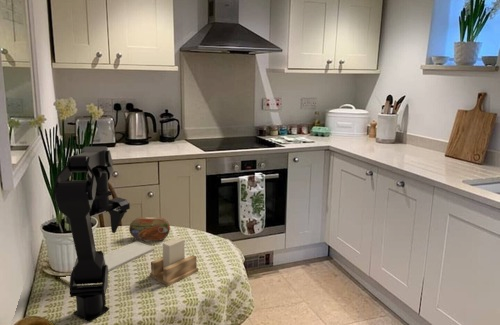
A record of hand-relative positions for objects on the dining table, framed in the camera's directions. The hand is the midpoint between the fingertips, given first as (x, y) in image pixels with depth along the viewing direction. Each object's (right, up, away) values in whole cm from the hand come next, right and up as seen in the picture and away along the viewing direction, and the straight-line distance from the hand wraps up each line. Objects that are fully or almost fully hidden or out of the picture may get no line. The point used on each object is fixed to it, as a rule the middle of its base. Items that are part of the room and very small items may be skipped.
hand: (101, 237), depth 121 cm
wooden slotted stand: (+21, -13, +6) cm, 25 cm away
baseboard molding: (-3, -11, +13) cm, 17 cm away
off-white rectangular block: (+21, -12, +6) cm, 25 cm away
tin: (+7, -6, +32) cm, 33 cm away
